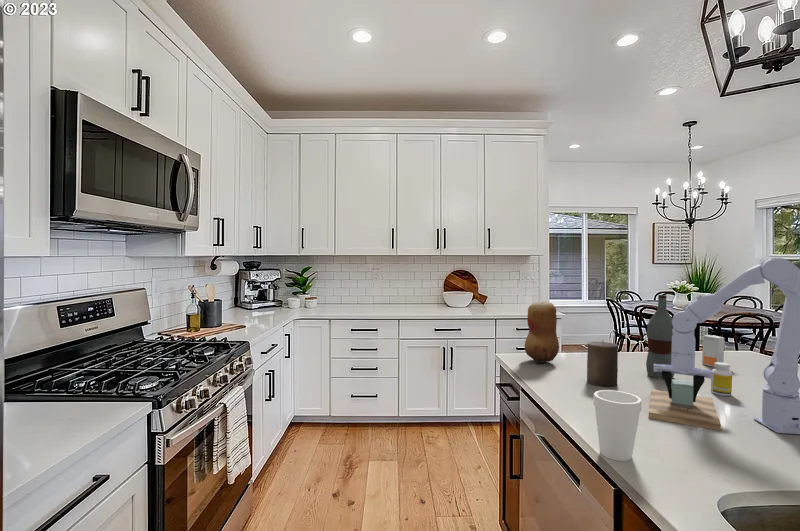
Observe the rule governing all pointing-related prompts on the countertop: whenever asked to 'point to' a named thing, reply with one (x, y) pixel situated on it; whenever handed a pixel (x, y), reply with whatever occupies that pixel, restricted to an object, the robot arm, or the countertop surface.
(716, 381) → the supplement bottle
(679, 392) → the block
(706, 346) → the skincare box
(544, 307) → the butternut squash
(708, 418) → the oak board
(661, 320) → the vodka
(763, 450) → the countertop surface
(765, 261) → the robot arm
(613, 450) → the foam cup
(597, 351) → the pillar candle
